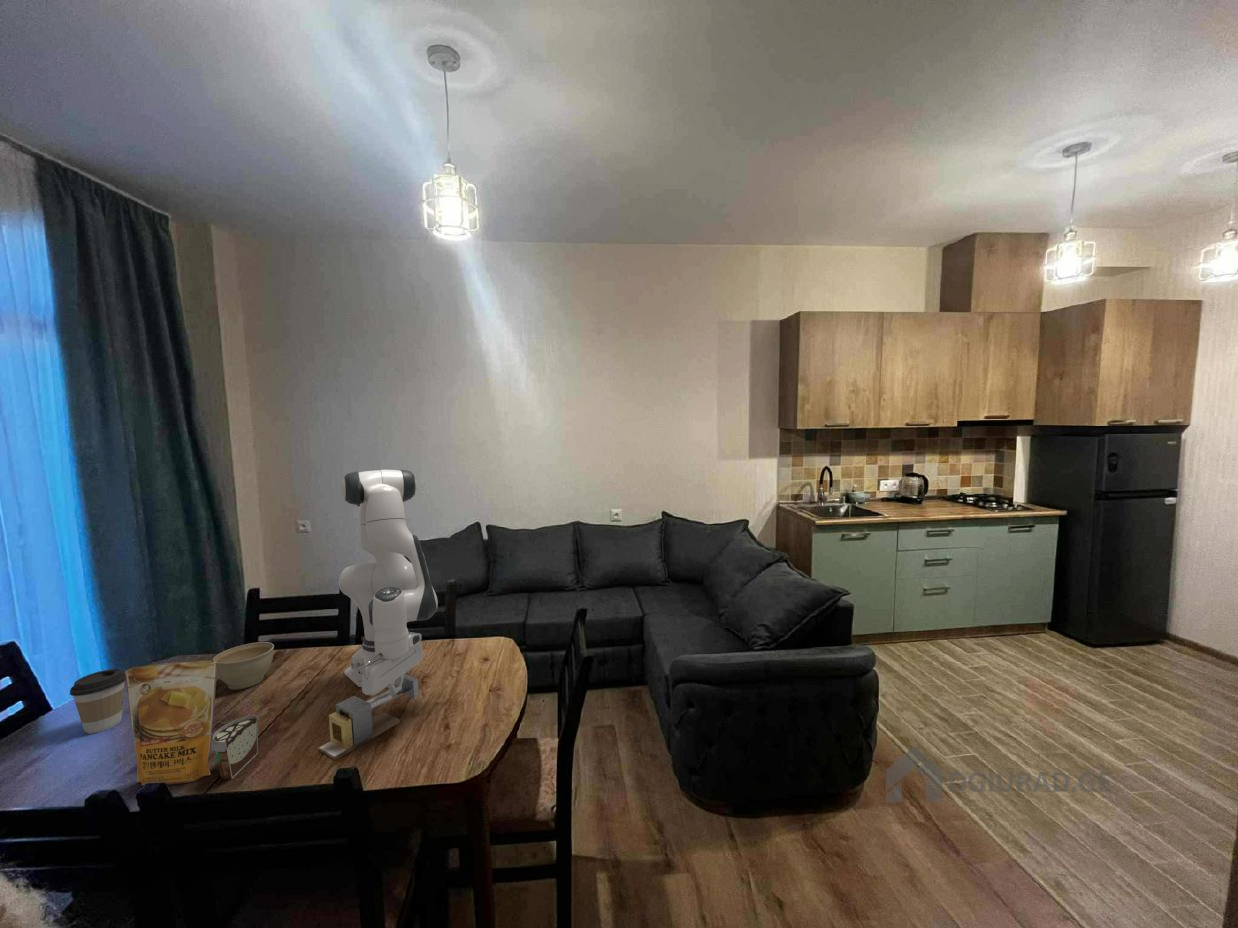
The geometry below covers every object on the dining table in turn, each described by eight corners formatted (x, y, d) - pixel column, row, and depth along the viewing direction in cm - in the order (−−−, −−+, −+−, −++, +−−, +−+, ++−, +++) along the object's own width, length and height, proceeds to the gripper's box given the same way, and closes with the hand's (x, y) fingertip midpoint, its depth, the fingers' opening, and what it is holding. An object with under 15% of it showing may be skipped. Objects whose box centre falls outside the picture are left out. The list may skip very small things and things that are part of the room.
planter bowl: (275, 685, 159) (272, 653, 159) (212, 701, 150) (209, 668, 150) (277, 666, 173) (274, 637, 172) (219, 680, 164) (216, 649, 163)
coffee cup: (140, 718, 142) (135, 669, 141) (87, 741, 132) (82, 689, 131) (117, 712, 146) (112, 664, 145) (64, 734, 135) (59, 683, 134)
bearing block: (338, 739, 129) (335, 704, 128) (356, 729, 133) (353, 695, 132) (354, 748, 125) (352, 712, 124) (373, 738, 129) (370, 703, 128)
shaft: (344, 720, 130) (343, 700, 130) (402, 690, 145) (401, 672, 145) (361, 729, 126) (359, 708, 126) (418, 696, 141) (417, 678, 141)
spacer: (330, 741, 127) (328, 715, 126) (338, 737, 128) (336, 711, 128) (345, 749, 123) (343, 722, 123) (353, 745, 125) (351, 718, 124)
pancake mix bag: (147, 770, 119) (136, 661, 117) (228, 762, 121) (219, 655, 119) (121, 790, 112) (110, 675, 111) (208, 781, 114) (198, 668, 113)
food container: (237, 751, 125) (233, 715, 125) (261, 749, 126) (258, 713, 125) (199, 785, 113) (196, 745, 112) (227, 783, 113) (223, 743, 113)
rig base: (318, 750, 125) (318, 747, 124) (383, 714, 140) (382, 711, 140) (335, 760, 120) (335, 756, 120) (399, 722, 136) (399, 719, 136)
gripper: (373, 665, 124) (377, 715, 125) (425, 631, 144) (428, 675, 145) (353, 662, 126) (357, 712, 127) (407, 629, 145) (410, 672, 146)
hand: (395, 692), depth 136 cm, fingers closed
